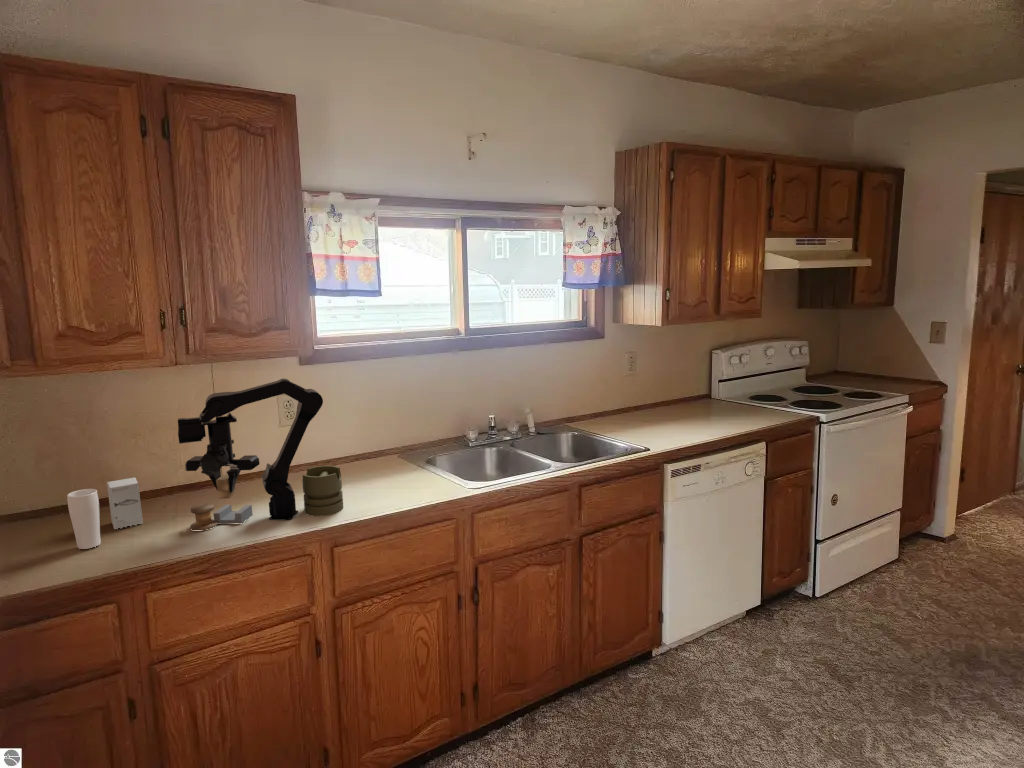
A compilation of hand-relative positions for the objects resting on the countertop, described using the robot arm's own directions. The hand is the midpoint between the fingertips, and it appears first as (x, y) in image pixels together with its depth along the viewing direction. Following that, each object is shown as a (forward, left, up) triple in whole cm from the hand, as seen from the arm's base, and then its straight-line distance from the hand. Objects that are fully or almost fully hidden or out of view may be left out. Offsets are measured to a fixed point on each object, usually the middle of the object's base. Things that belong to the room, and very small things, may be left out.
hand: (225, 492), depth 185 cm
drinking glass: (+31, +15, -10) cm, 36 cm away
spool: (+7, +1, -10) cm, 12 cm away
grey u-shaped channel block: (+1, -5, -10) cm, 11 cm away
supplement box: (+31, -1, -10) cm, 33 cm away
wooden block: (0, -1, -1) cm, 1 cm away
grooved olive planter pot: (-23, -13, -10) cm, 29 cm away
